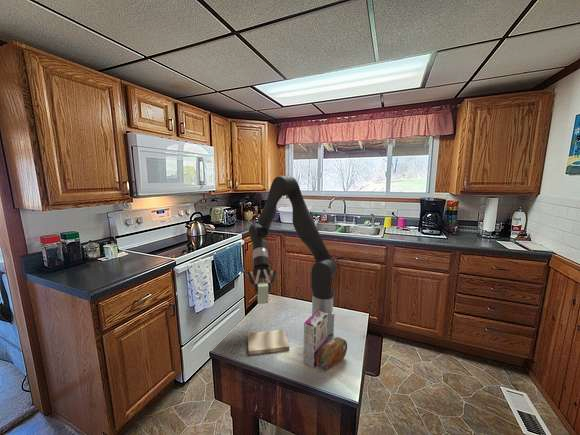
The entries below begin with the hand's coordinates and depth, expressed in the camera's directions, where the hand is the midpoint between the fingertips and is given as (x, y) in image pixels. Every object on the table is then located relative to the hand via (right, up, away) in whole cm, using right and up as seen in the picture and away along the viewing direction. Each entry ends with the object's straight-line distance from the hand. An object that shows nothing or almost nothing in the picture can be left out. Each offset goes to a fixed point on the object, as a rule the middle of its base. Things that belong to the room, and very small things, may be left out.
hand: (263, 292), depth 111 cm
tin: (+28, -21, -19) cm, 39 cm away
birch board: (+3, -18, -8) cm, 20 cm away
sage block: (0, -4, +2) cm, 5 cm away
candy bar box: (+22, -20, -16) cm, 34 cm away
